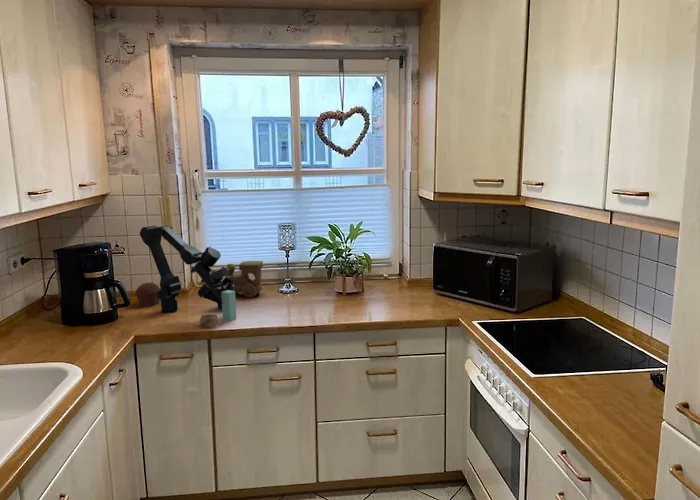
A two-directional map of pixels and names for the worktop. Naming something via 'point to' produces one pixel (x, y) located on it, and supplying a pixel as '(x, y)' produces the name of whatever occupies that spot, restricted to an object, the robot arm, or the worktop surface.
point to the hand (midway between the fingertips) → (229, 301)
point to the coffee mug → (218, 292)
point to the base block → (208, 321)
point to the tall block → (228, 305)
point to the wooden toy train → (247, 278)
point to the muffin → (147, 294)
